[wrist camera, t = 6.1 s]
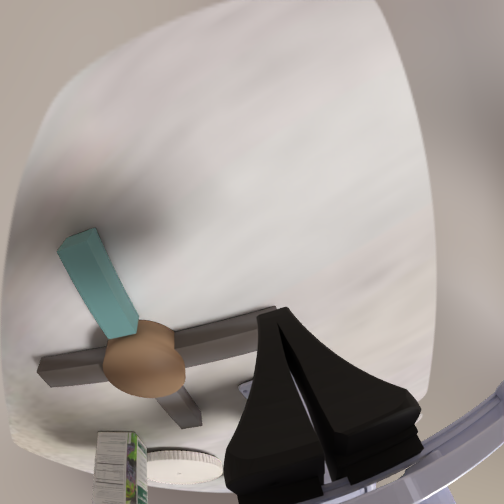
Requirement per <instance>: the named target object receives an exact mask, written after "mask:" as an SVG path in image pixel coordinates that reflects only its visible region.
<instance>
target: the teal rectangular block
mask: <svg viewBox="0 0 504 504" xmlns="http://www.w3.org/2000/svg"><path fill="white" fill-rule="evenodd" d="M57 253H58V255H59V257H60V259H61V261H62V263H63V265H64V267H65V269H66V270H67V272H68V274H69V276H70V278H71V280H72V281H73V283H74V285H75V287H76V288H77V290H78V292H79V294H80V295H81V297H82V299H83V300H84V302H85V304H86V305H87V307H88V309H89V310H90V312H91V313H92V315H93V317H94V318H95V320H96V321H97V323H98V324H99V326H100V327H101V329H102V331H103V332H104V333H105V335H106V336H107V338H108V339H113V338H118V337H122V336H127V335H131V334H136V332H137V326H138V319H139V315H138V313H137V312H136V310H135V308H134V306H133V304H132V302H131V301H130V299H129V297H128V295H127V293H126V291H125V289H124V287H123V285H122V283H121V281H120V279H119V277H118V275H117V273H116V271H115V269H114V267H113V265H112V263H111V261H110V259H109V257H108V255H107V253H106V250H105V248H104V246H103V244H102V242H101V240H100V237H99V235H98V233H97V230H96V228H93V229H90V230H87V231H84V232H81V233H79V234H76V235H73V236H71V237H68V238H66V240H65V241H64V242H63V244H62V245H61V246H60V248H59V249H58V251H57Z"/></svg>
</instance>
